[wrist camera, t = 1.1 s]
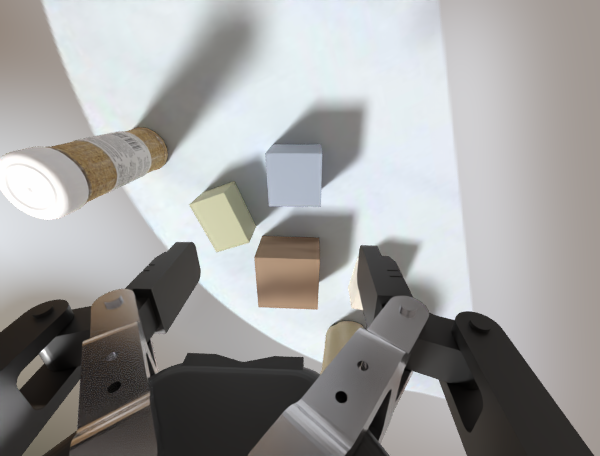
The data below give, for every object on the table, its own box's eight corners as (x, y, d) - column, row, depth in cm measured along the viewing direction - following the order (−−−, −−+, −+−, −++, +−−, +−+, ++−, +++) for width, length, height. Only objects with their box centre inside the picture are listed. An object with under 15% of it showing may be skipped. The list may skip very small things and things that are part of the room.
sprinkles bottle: (118, 143, 29) (-24, 180, 17) (145, 117, 27) (12, 135, 15) (151, 178, 30) (43, 233, 18) (178, 154, 29) (81, 197, 17)
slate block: (273, 144, 28) (265, 153, 23) (321, 143, 28) (322, 153, 23) (275, 189, 30) (268, 206, 26) (319, 189, 30) (320, 206, 25)
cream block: (357, 256, 34) (362, 275, 30) (388, 261, 34) (397, 281, 30) (347, 286, 36) (351, 308, 32) (376, 291, 36) (383, 313, 32)
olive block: (203, 191, 31) (189, 204, 27) (234, 180, 30) (223, 192, 26) (227, 235, 33) (216, 252, 30) (256, 226, 32) (249, 242, 29)
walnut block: (262, 235, 33) (254, 257, 29) (319, 236, 33) (319, 259, 28) (265, 280, 36) (258, 307, 32) (317, 282, 36) (317, 309, 31)
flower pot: (307, 317, 39) (305, 373, 31) (372, 305, 37) (387, 361, 29) (324, 360, 43) (326, 419, 35) (383, 350, 41) (399, 410, 33)
